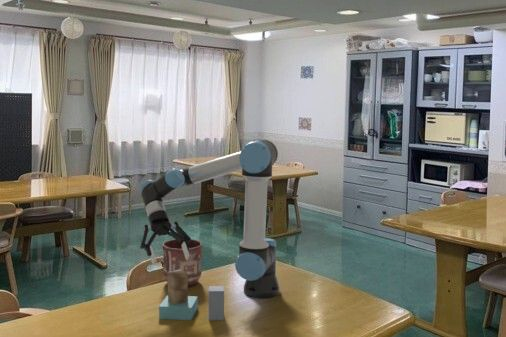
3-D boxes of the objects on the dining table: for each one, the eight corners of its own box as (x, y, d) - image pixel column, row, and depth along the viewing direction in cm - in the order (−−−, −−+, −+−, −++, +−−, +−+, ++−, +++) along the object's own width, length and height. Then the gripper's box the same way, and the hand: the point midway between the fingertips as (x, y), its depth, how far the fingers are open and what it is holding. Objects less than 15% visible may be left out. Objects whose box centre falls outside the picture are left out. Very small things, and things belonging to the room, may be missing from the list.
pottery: (153, 284, 233) (153, 244, 231) (180, 274, 247) (181, 236, 245) (183, 293, 223) (183, 251, 221) (210, 282, 237) (210, 242, 235)
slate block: (223, 314, 201) (223, 285, 199) (223, 320, 195) (224, 290, 194) (208, 314, 200) (208, 286, 199) (208, 320, 195) (209, 291, 193)
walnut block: (181, 297, 204) (180, 269, 203) (187, 301, 200) (187, 272, 199) (168, 300, 201) (167, 272, 200) (174, 304, 197) (173, 275, 196)
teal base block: (197, 308, 206) (197, 296, 206) (191, 321, 195) (191, 307, 194) (167, 307, 208) (167, 295, 207) (159, 319, 196) (159, 306, 195)
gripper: (183, 217, 223) (198, 260, 212) (124, 223, 211) (137, 269, 200) (188, 206, 218) (204, 251, 207) (128, 212, 206) (141, 259, 195)
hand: (171, 260), depth 203 cm, fingers open, 13 cm apart
